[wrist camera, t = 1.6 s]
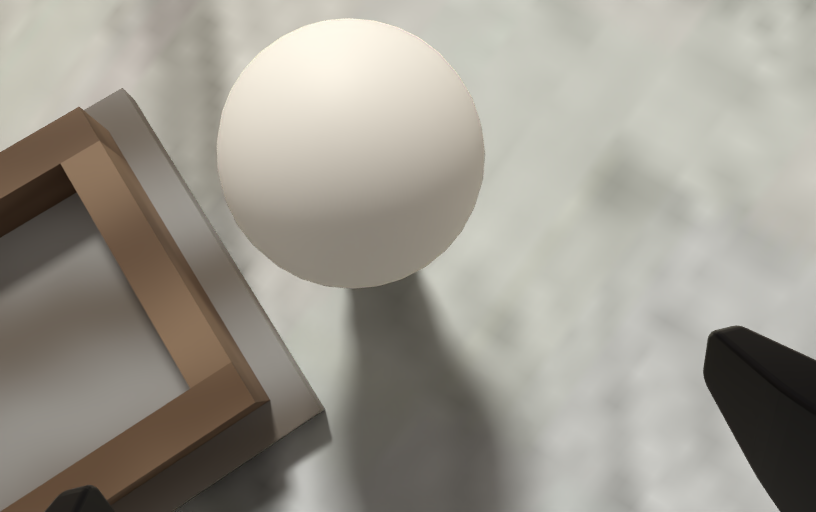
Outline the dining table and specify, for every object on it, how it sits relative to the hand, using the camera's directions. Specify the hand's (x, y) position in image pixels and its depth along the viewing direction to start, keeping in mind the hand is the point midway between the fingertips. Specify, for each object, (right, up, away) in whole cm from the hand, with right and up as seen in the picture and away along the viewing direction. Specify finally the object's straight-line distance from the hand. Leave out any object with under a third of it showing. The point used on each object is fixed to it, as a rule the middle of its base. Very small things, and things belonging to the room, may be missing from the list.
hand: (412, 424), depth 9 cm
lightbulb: (-1, +3, +14) cm, 14 cm away
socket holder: (-12, -1, +13) cm, 18 cm away
